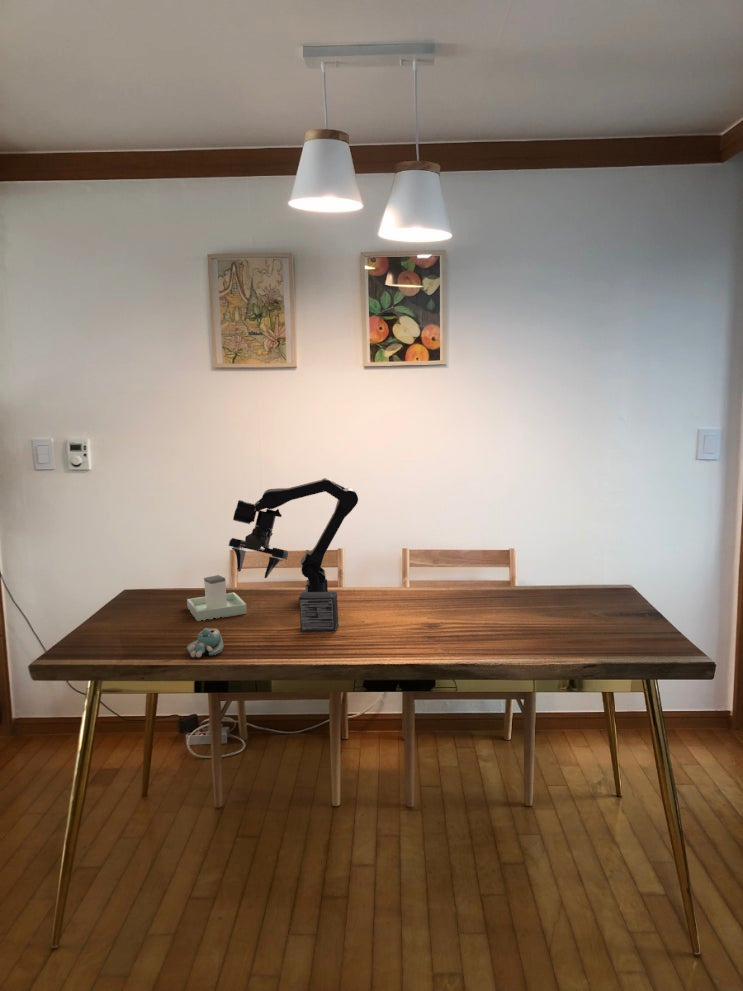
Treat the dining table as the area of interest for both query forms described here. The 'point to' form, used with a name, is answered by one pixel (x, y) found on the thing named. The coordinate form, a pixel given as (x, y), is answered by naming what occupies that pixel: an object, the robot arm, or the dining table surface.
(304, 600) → the small box
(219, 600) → the grey upright pillar
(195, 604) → the tray
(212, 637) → the stuffed animal
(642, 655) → the dining table surface
